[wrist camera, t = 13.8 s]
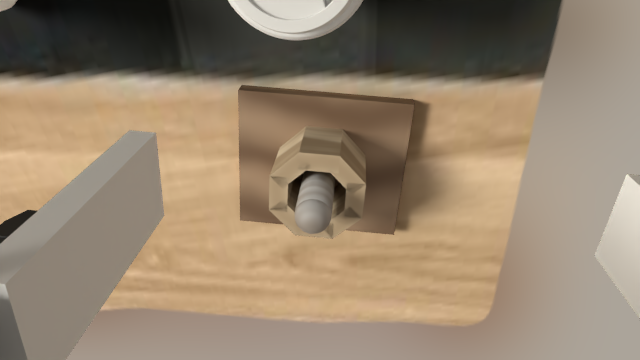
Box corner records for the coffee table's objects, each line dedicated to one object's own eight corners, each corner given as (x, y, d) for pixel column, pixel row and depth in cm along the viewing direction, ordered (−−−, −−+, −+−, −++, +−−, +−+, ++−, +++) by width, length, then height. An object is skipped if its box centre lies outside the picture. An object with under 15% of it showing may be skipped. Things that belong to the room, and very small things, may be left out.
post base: (241, 85, 46) (205, 132, 35) (412, 99, 45) (429, 152, 34) (243, 212, 52) (213, 285, 42) (392, 226, 52) (401, 304, 41)
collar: (280, 124, 46) (269, 149, 40) (368, 131, 45) (369, 158, 40) (278, 199, 49) (268, 232, 44) (359, 207, 49) (359, 241, 44)
